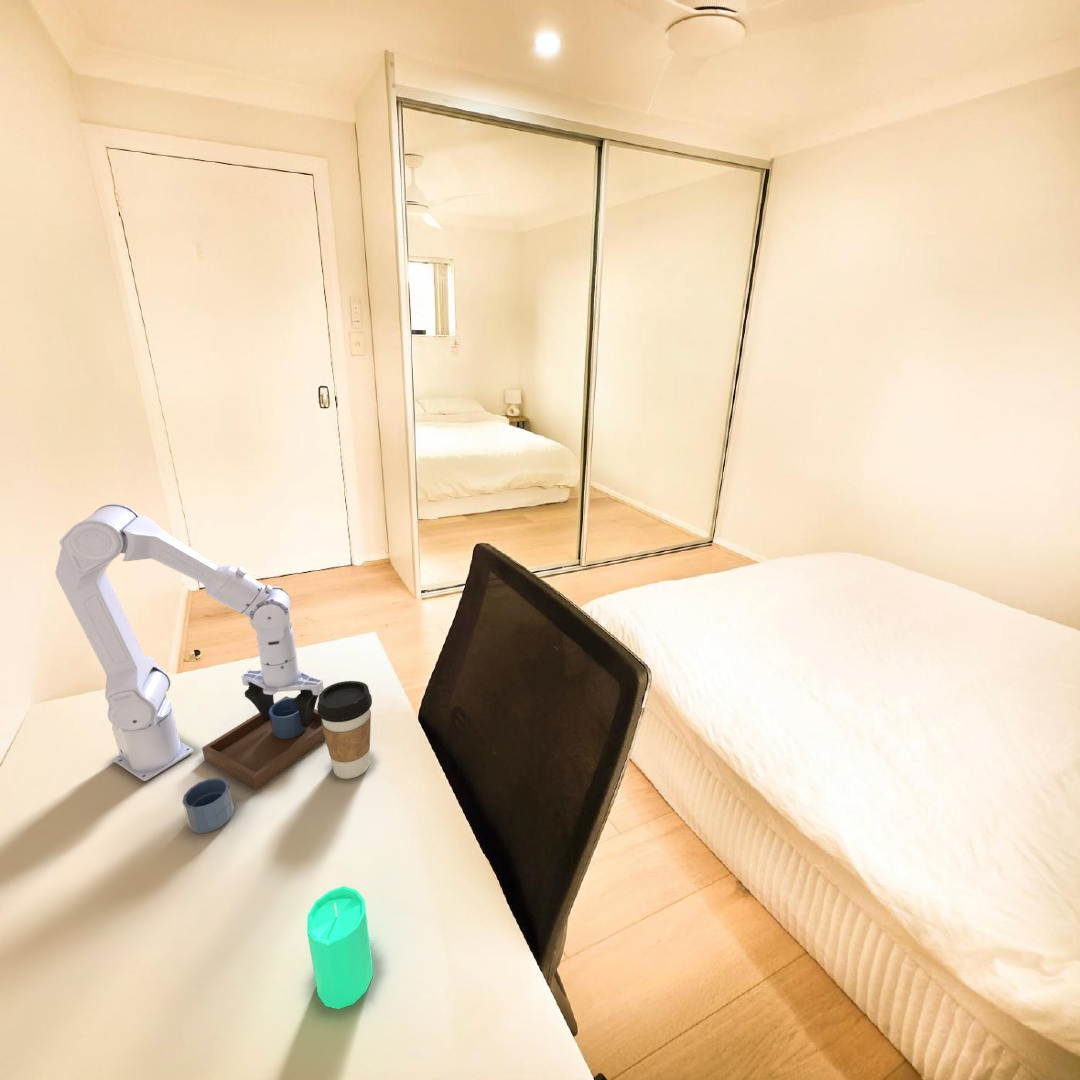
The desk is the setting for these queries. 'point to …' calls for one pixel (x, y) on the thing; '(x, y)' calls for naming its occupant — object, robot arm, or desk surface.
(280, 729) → the rice bowl
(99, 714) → the desk surface
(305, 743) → the tray
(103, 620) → the robot arm
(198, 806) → the rice bowl
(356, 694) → the coffee cup
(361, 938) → the candle
